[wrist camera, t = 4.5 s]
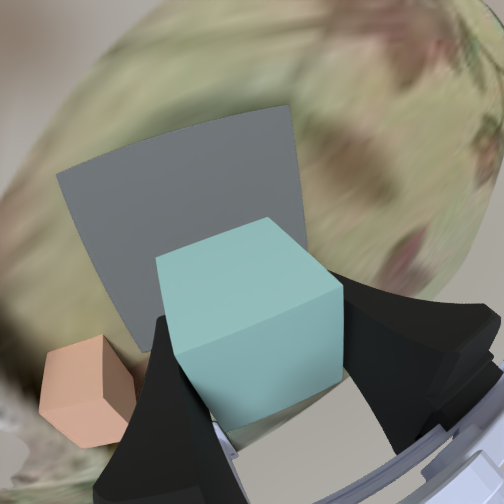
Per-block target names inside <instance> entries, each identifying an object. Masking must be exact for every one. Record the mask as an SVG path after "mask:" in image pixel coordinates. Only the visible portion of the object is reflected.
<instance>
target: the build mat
mask: <svg viewBox="0 0 504 504" xmlns="http://www.w3.org/2000/svg"><path fill="white" fill-rule="evenodd" d="M56 177H57V180H58V182H59V185H60V188H61V191H62V193H63V196H64V198H65V201H66V204H67V206H68V209H69V211H70V214H71V216H72V219H73V221H74V223H75V226H76V228H77V230H78V233H79V235H80V237H81V239H82V242H83V244H84V246H85V248H86V250H87V253H88V255H89V257H90V259H91V261H92V263H93V265H94V267H95V269H96V271H97V273H98V275H99V277H100V279H101V281H102V283H103V285H104V287H105V289H106V291H107V293H108V295H109V297H110V299H111V300H112V302H113V304H114V306H115V308H116V309H117V311H118V313H119V315H120V317H121V318H122V320H123V322H124V324H125V325H126V327H127V329H128V330H129V332H130V334H131V335H132V337H133V339H134V340H135V342H136V344H137V345H138V347H139V348H140V350H141V352H142V353H143V352H146V351H149V350H151V349H152V344H153V339H154V333H155V326H156V320H157V318H158V317H160V316H163V315H165V309H164V304H163V299H162V294H161V288H160V282H159V277H158V271H157V264H156V257H158V256H161V255H164V254H166V253H169V252H172V251H174V250H177V249H180V248H182V247H185V246H188V245H191V244H193V243H196V242H199V241H201V240H204V239H207V238H210V237H212V236H215V235H218V234H221V233H223V232H226V231H229V230H232V229H235V228H237V227H240V226H243V225H246V224H249V223H251V222H254V221H257V220H260V219H263V218H266V217H269V218H270V219H271V220H272V221H273V222H274V223H275V224H277V225H278V226H279V227H280V228H281V229H282V230H283V231H284V232H286V233H287V234H288V235H289V236H290V237H291V238H292V239H293V240H294V241H296V242H297V243H298V244H299V245H300V246H301V247H302V248H303V249H304V250H305V251H307V252H308V248H307V237H306V228H305V218H304V210H303V201H302V193H301V184H300V177H299V169H298V161H297V154H296V147H295V140H294V133H293V127H292V120H291V114H290V108H289V105H283V106H277V107H272V108H266V109H261V110H256V111H251V112H246V113H242V114H237V115H233V116H228V117H224V118H220V119H216V120H212V121H208V122H204V123H200V124H196V125H192V126H189V127H185V128H182V129H178V130H175V131H171V132H168V133H165V134H161V135H158V136H155V137H152V138H149V139H146V140H143V141H140V142H137V143H134V144H131V145H128V146H125V147H123V148H120V149H117V150H114V151H112V152H109V153H106V154H104V155H101V156H98V157H96V158H93V159H91V160H88V161H86V162H84V163H81V164H79V165H76V166H74V167H72V168H69V169H67V170H65V171H63V172H60V173H58V174H56Z"/></svg>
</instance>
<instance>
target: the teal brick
mask: <svg viewBox="0 0 504 504" xmlns="http://www.w3.org/2000/svg"><path fill="white" fill-rule="evenodd" d="M156 264H157V271H158V277H159V282H160V288H161V294H162V299H163V304H164V309H165V315H166V320H167V324H168V329H169V334H170V338H171V343H172V347H173V352H174V356H175V357H176V359H177V361H178V362H179V364H180V366H181V367H182V369H183V370H184V372H185V374H186V375H187V377H188V378H189V380H190V382H191V383H192V385H193V386H194V388H195V389H196V391H197V392H198V394H199V396H200V397H201V399H202V400H203V402H204V403H205V404H206V406H207V407H208V409H209V410H210V412H211V413H212V415H213V416H214V418H215V419H216V420H217V422H218V423H219V425H220V426H221V428H222V429H223V430H224V432H225V433H226V432H229V431H232V430H234V429H237V428H240V427H242V426H245V425H247V424H250V423H252V422H255V421H257V420H260V419H262V418H265V417H267V416H269V415H272V414H274V413H276V412H279V411H281V410H283V409H285V408H288V407H290V406H292V405H294V404H296V403H298V402H300V401H303V400H305V399H307V398H309V397H311V396H313V395H315V394H317V393H319V392H321V391H323V390H325V389H327V388H329V387H331V386H332V385H334V384H336V383H338V382H340V381H342V374H343V334H344V307H343V285H342V284H341V283H340V282H339V281H338V280H337V279H336V278H335V277H334V276H333V275H332V274H330V273H329V272H328V271H327V270H326V269H325V268H324V267H323V266H322V265H321V264H320V263H319V262H318V261H316V260H315V259H314V258H313V257H312V256H311V255H310V254H309V253H308V252H307V251H305V250H304V249H303V248H302V247H301V246H300V245H299V244H298V243H297V242H296V241H294V240H293V239H292V238H291V237H290V236H289V235H288V234H287V233H286V232H284V231H283V230H282V229H281V228H280V227H279V226H278V225H277V224H275V223H274V222H273V221H272V220H271V219H270V218H269V217H266V218H263V219H260V220H257V221H254V222H251V223H249V224H246V225H243V226H240V227H237V228H235V229H232V230H229V231H226V232H223V233H221V234H218V235H215V236H212V237H210V238H207V239H204V240H201V241H199V242H196V243H193V244H191V245H188V246H185V247H182V248H180V249H177V250H174V251H172V252H169V253H166V254H164V255H161V256H158V257H156Z"/></svg>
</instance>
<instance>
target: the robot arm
mask: <svg viewBox="0 0 504 504" xmlns="http://www.w3.org/2000/svg"><path fill="white" fill-rule="evenodd" d="M326 270H327V269H326ZM327 271H328V272H329V273H330V274H332V275H333V276H334V277H335V278H336V279H337V280H338V281H339V282H340V283H341V284H342V285H343V307H344V334H343V367H344V368H345V369H346V371H347V372H348V373H349V375H350V376H351V378H352V379H353V381H354V382H355V384H356V385H357V387H358V388H359V390H360V391H361V393H362V394H363V396H364V398H365V400H366V401H367V403H368V404H369V406H370V407H371V409H372V411H373V413H374V414H375V416H376V418H377V420H378V421H379V423H380V425H381V427H382V428H383V431H384V433H385V434H386V436H387V438H388V440H389V442H390V444H391V446H392V448H393V450H394V452H395V454H396V455H397V456H396V457H394V458H393V459H391V460H390V461H388V462H387V463H385V464H384V465H382V466H381V467H379V468H377V469H376V470H374V471H373V472H371V473H369V474H368V475H366V476H364V477H363V478H361V479H359V480H357V481H356V482H354V483H352V484H351V485H348V486H347V487H345V488H343V489H341V490H339V491H338V492H335V493H333V494H331V495H329V496H327V497H326V498H324V499H321V500H319V501H317V502H315V503H313V504H358V503H359V502H361V501H363V500H364V499H366V498H368V497H369V496H371V495H373V494H375V493H376V492H378V491H379V490H381V489H383V488H384V487H386V486H387V485H389V484H390V483H392V482H393V481H395V480H396V479H398V478H399V477H401V476H402V475H404V474H405V473H406V472H408V471H409V470H411V469H412V468H413V467H415V466H416V465H417V464H419V463H420V462H421V461H423V460H424V459H425V458H427V457H428V456H429V455H430V454H432V453H433V452H434V451H435V450H436V449H438V448H439V447H440V446H441V445H442V444H444V443H445V442H446V441H447V440H448V439H449V438H451V437H452V436H453V441H452V442H450V443H449V444H448V445H447V446H446V447H445V448H444V449H443V450H442V451H441V452H440V453H438V455H437V456H436V457H435V458H434V459H433V460H432V461H431V462H430V463H429V464H428V465H427V466H426V467H425V468H424V469H422V470H421V474H422V475H423V477H424V478H425V479H426V483H425V484H423V485H422V486H421V487H420V488H418V489H417V490H416V491H414V492H413V493H412V494H410V495H408V496H407V497H406V498H404V499H403V500H401V501H400V502H398V503H397V504H504V470H503V469H502V468H501V467H500V466H501V465H502V463H503V462H504V360H503V362H502V363H501V364H500V365H499V366H497V365H496V364H495V363H494V362H492V360H493V358H494V355H493V354H492V353H491V352H490V351H489V349H490V347H491V345H492V343H493V341H494V339H495V337H496V335H497V333H498V330H499V328H500V325H501V317H500V316H499V315H498V314H497V313H495V312H494V311H493V310H492V309H490V308H489V307H488V306H487V305H485V304H455V303H441V302H433V301H426V300H420V299H414V298H409V297H404V296H400V295H396V294H392V293H389V292H385V291H382V290H379V289H376V288H373V287H370V286H367V285H364V284H361V283H359V282H356V281H353V280H351V279H348V278H346V277H343V276H341V275H339V274H336V273H334V272H332V271H329V270H327ZM237 457H238V454H237V452H236V451H235V449H234V448H233V446H232V445H231V443H230V442H229V440H228V439H227V437H226V436H225V434H224V433H223V431H222V430H221V428H220V427H219V425H218V424H217V423H216V422H212V419H211V415H210V412H209V409H208V407H207V406H206V404H205V403H204V402H203V400H202V399H201V397H200V396H199V394H198V392H197V391H196V389H195V388H194V386H193V385H192V383H191V382H190V380H189V378H188V377H187V375H186V374H185V372H184V370H183V369H182V367H181V366H180V364H179V362H178V361H177V359H176V357H175V356H174V352H173V347H172V343H171V338H170V334H169V329H168V324H167V320H166V315H163V316H160V317H158V318H157V320H156V326H155V333H154V339H153V344H152V349H151V354H150V359H149V363H148V367H147V371H146V374H145V378H144V382H143V385H142V389H141V392H140V395H139V398H138V401H137V403H136V406H135V409H134V411H133V414H132V416H131V419H130V421H129V423H128V426H127V428H126V430H125V432H124V434H123V437H122V438H121V440H120V442H119V444H118V446H117V448H116V450H115V452H114V454H113V456H112V457H111V459H110V461H109V463H108V464H107V466H106V467H105V469H104V470H103V472H102V473H101V475H100V476H99V478H98V479H97V481H96V482H95V484H94V485H93V503H94V504H250V502H249V499H248V497H247V495H246V493H245V490H244V488H243V486H242V484H241V481H240V479H239V477H238V474H237V472H236V470H235V467H234V465H233V463H232V459H235V458H237Z"/></svg>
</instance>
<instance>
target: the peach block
mask: <svg viewBox="0 0 504 504" xmlns="http://www.w3.org/2000/svg"><path fill="white" fill-rule="evenodd" d="M135 406H136V397H135V389H134V381H133V377H132V376H131V374H130V373H129V372H128V370H127V369H126V367H125V366H124V365H123V363H122V362H121V360H120V359H119V358H118V356H117V355H116V353H115V352H114V350H113V349H112V347H111V346H110V344H109V343H108V341H107V340H106V338H105V337H104V335H100V336H97V337H94V338H91V339H88V340H85V341H82V342H79V343H75V344H72V345H69V346H66V347H63V348H60V349H57V350H54V351H51V352H47V358H46V363H45V369H44V375H43V382H42V389H41V397H40V405H39V414H41V415H42V416H43V417H44V418H45V419H46V420H47V421H48V422H50V423H51V424H52V425H53V426H54V427H55V428H57V429H58V430H59V431H60V432H62V433H63V434H64V435H65V436H66V437H68V438H69V439H70V440H72V441H73V442H74V443H75V444H77V445H78V446H79V447H81V448H82V449H84V448H90V447H95V446H100V445H105V444H110V443H115V442H119V441H120V440H121V438H122V437H123V434H124V432H125V430H126V428H127V426H128V423H129V421H130V419H131V416H132V414H133V411H134V409H135Z"/></svg>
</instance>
